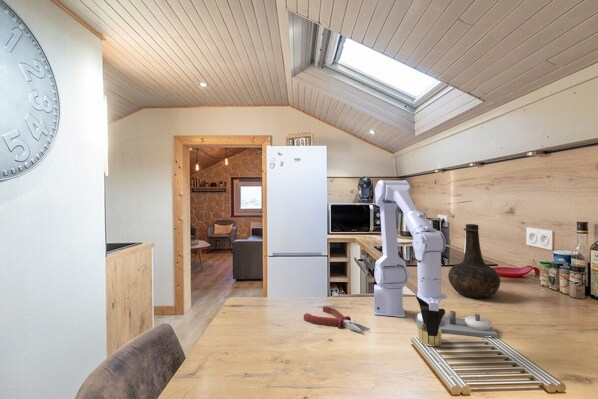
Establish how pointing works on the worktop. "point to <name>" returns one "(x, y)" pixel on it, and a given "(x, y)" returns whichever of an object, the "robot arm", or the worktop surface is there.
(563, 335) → the worktop surface
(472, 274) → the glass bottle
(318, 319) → the pliers
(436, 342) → the brass gear
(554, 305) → the worktop surface
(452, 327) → the gear board
